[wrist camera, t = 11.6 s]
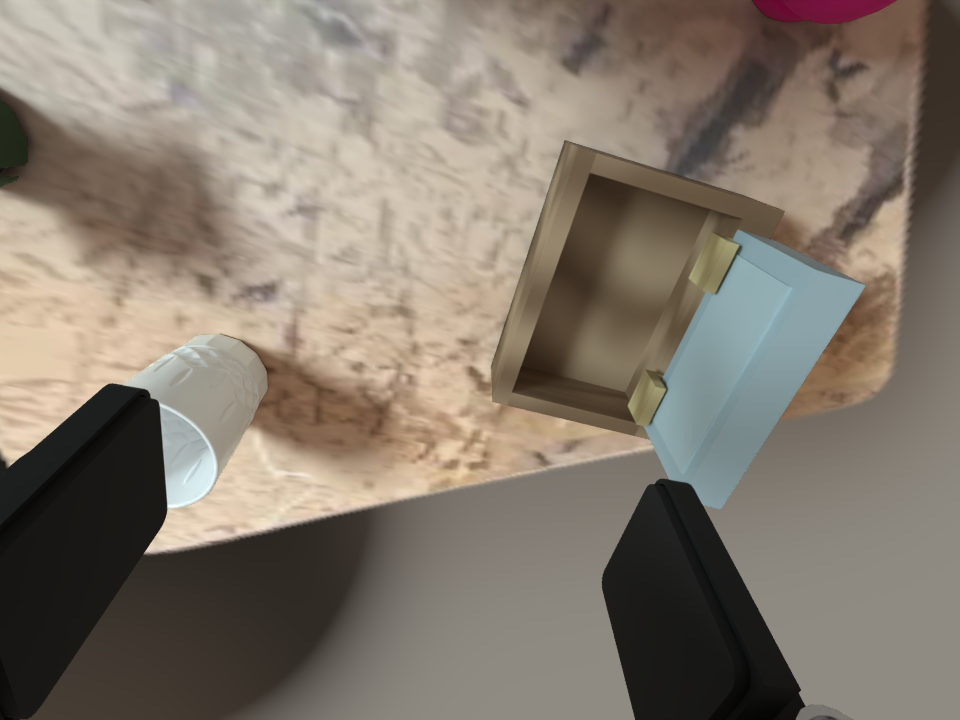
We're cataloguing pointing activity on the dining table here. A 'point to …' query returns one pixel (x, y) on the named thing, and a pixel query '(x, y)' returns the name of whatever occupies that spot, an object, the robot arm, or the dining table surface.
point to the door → (745, 362)
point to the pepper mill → (820, 9)
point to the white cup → (202, 409)
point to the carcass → (614, 287)
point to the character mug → (11, 143)
